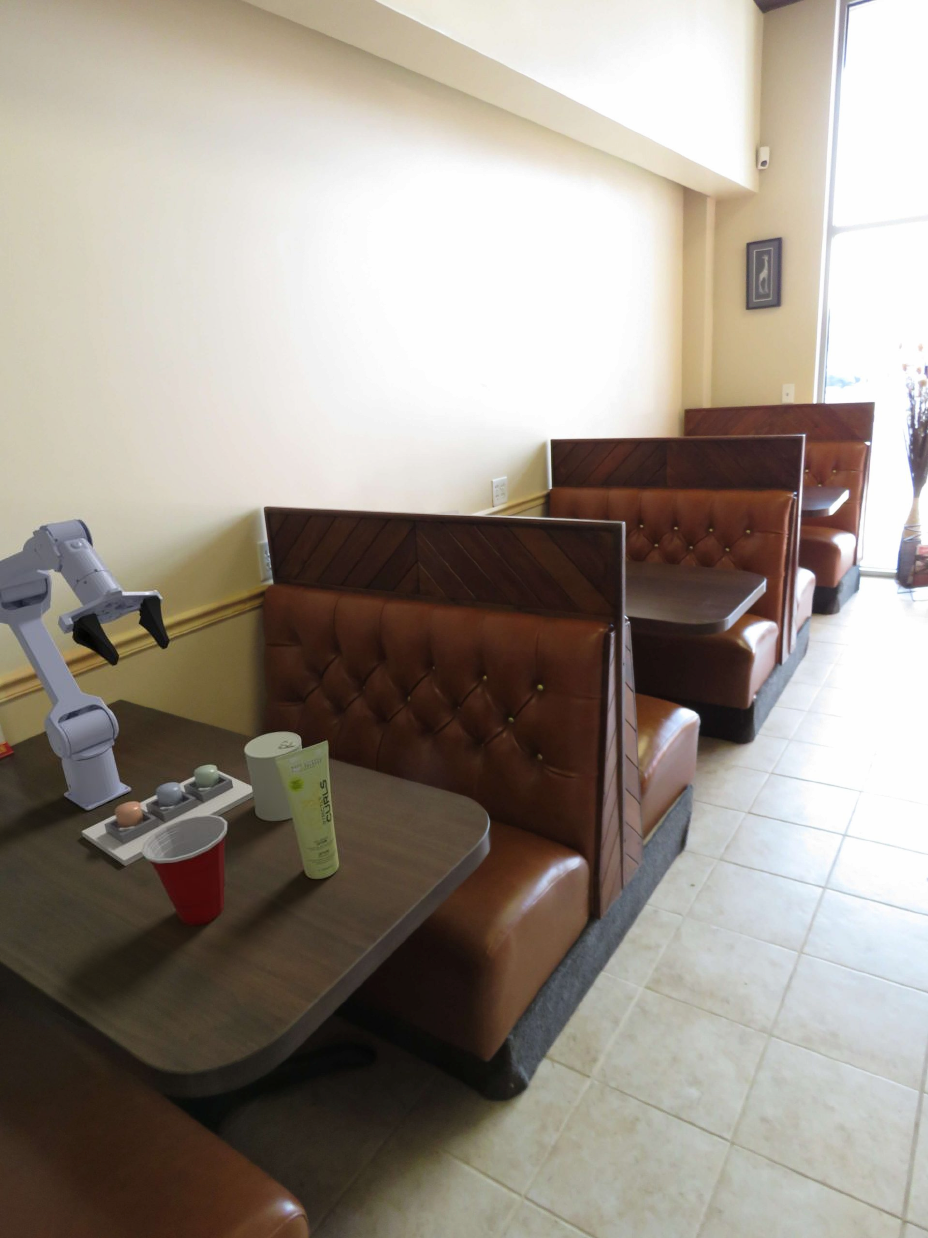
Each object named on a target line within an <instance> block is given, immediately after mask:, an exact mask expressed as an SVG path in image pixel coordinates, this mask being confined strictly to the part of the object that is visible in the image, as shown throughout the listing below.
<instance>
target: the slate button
mask: <svg viewBox="0 0 928 1238" xmlns="http://www.w3.org/2000/svg"><path fill="white" fill-rule="evenodd" d="M155 795H157V799H158V803H159V806H161V807H171V806H174V805H176V804H178V803H180V802H181V801H182V799H183V797H182V792H181V788H180V783H179V782H176V781H175V782H173V781H172V782H171V781H170V782H167V783H163V784H162V785H159V786H158V787H157V788H156V789H155Z"/></svg>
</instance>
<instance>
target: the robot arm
mask: <svg viewBox="0 0 928 1238" xmlns="http://www.w3.org/2000/svg"><path fill="white" fill-rule="evenodd" d="M32 535H33V536H31V537H30V538H28V539H27V540H26V542H24V545H23V547H22V550H21V551H19V552H17V553H15V554H12V555H10V556H8V557H5V558H4V559H1V560H0V624H5V625H8V626H9V628H10V630H11V632H12V633H13V635H14V636H15V638H16V640H17V641H18V643H19V645H20V647H21V649H22V651H23V652H24V654H25V655H26V658H27V659H28V661H29V664H30V665H31V667H32V669H33V670H34V672H35V674H36V676H37V679H38V680H39V682H40V683H41V686H42V687H43V690H44V691H45V693H46V694H47V696H48V698H49V700H50V702H51V704H52V708H51V709H50V710H49V712H48V713H47V715H46V716H45V719H44V723H43V724H44V725H43V728H44V730H45V732H46V735H47V738H48V741H49V744H50V747H51V748H52V750H53V752H54V753H55V755H56V756H57V757H59V758H61V766H62V770H63V772H64V777H65V781H66V784H67V788H68V791H66V792H64V794H63V796H64V797H66V798H67V799H68V800H70V801H71V802H73V803H75V804H76V805H78V806H79V807H80V808H82V809H84V810H86V811H91V810H93V809H96V808H98V807H99V806H102V805H104V804H106V803H107V802H109V801H112V800H114V799H117V798H118V797H120V796H123V795H125V794H127V793H129V792H130V791H131V792H132V788H131V787H130V786H128V785H126V784H125V783H123V782H121V781H120V776H119V772H118V768H117V764H116V760H115V755H114V753H113V752H114V751H113V747H112V746H114V745H115V739H116V738H117V737H118V735H119V730H120V729H119V723H118V720H117V718H116V716H115V714H114V712H113V711H112V710H111V709H110V708H108V707H109V706H107V704H106V703H105V702H104V700H103V699H102V698H101V697H100V696H96V695H91V694H88V693H84V692H82V690H81V688H80V686H79V685H78V684H77V682H76V680H75V678H74V676H73V674H72V672H71V670H70V669H69V667H68V665H67V662H66V661H65V660H64V658H63V656H62V654H61V653H60V650H59V648H58V647H57V644H55V641H54V640H53V638H52V636H51V634H50V632H49V630H48V629H47V626H46V625H45V623H44V620H43V619H42V617H43V616H44V615H45V613H46V612H48V611H49V610H50V609H51V602H52V586H53V581H52V577H51V574H50V573H51V572H50V571H51V570H53V571H54V572H55V573H58V574H61V576H62V578H63V579H64V580H65V581H66V583H67V584H68V585H69V588H70V589H71V590H72V592H73V593H74V595H75V596H76V597H77V599H78V600H79V602H80V603H81V605H82V606H80V607H78V608H76V609H74V610H72V611H69V612H66V613H63V614H60V615H59V617H58V621H57V625H58V627H59V628H60V630H61V631H62V633H63V634H64V635H66V634H70V633H72V641H74V642H75V643H76V644H77V645H79V646H83V647H85V648H87V649H89V650H91V651H92V652H94V653H96V654H97V655H98V656H100V657H101V658H103V659H104V661H107V663H109V665H111V666H112V667H114V666H117V665H118V663H119V659H120V654H119V653H118V651H117V649H116V646H114V644H113V643H112V642H111V640H110V639H109V637H108V636H107V635H106V632H105V630H104V629H103V627H102V625H105V624H109V623H112V622H114V621H116V620H118V619H120V618H123V617H124V616H127V615H129V614H131V613H134V612H139V614H138V616H139V617H140V618H139V621H138V625H140V626H141V627H143V629H145V631H147V632H148V633H149V634H150V635H151V637H152V639H153V640H154V641H155V642H156V644H157V645H158V646H159V647H160V649H161V650H165V649H167V648H168V646H169V644H170V637H169V636H168V633H167V630H166V627H165V624H164V619H163V614H162V606H161V605H162V602H163V597H162V596H161V595H160V593H159V592H158V590H157V589H153V590H150V591H124V589H123V588H122V586H121V585H120V584H119V582H118V581H117V580H116V578H115V577H114V575H113V574H112V572H111V571H110V570H109V568H108V567H107V565H106V564H105V563H104V562H103V560H102V559H101V557H100V556H99V554H98V553H97V551H96V550H95V549H94V541H93V536H92V533H91V532H90V529H89V527H88V525H87V524H86V522H84V521H83V520H82V519H71V520H65V521H59V522H52V523H47V524H44V525H43V524H42V525H41V526H39V528H38V529H36V530H35V529H34V531H32Z"/></svg>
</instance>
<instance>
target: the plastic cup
mask: <svg viewBox="0 0 928 1238" xmlns="http://www.w3.org/2000/svg"><path fill="white" fill-rule="evenodd" d="M227 832H228V821H227V820H225V818H223V817H222V816H220V815H219V816H213V815H203V816H194V817H190V818H186V819H182V820H179V821H177V822H174V823H172V824H170V825H167V826H165V827H163V828H162V829H160V830H159V831H157V832H155V833H154V834H152V835H151V836H150V837H149V838H148V839H147V840H146V842H145V843H144V844H143V847H142V851H141V852H142V854H143V855H144V856H143V857H144V858H145V859H146V860H147V861H148V862H150V864H151V865H152V867H153V869H154V870H155V871H156V873H157V875H158V878H159V879H160V882H161V884H162V886H163V888H164V890H165V892H166V894H167V897H168V898H169V901H170V902H171V903H172V906H173V907H174V909H175V912H176V914H177V916H178V917H179V919H180V920H181V921H182V923H183V924H186V925H188V926H198V925H204V924H207V923H209V922H210V921H213V920H215V919H216V918H217V917H218V916H219V915H220V914H221V913H222V912H223V909H224V907H225V885H226V883H225V882H226V881H225V880H226V877H225V848H226V847H225V846H226V835H227V834H228V833H227Z"/></svg>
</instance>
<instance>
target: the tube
mask: <svg viewBox="0 0 928 1238" xmlns="http://www.w3.org/2000/svg"><path fill="white" fill-rule="evenodd" d="M275 762H276V765H277V767H278V770H279V772H280V775H281V779H282V782H283V785H284V788H285V792H286V795H287V799H288V803H289V806H290V810H291V814H292V818H291V819H292V823H293V826H294V830H295V834H296V838H297V839H296V840H297V842H298V847H299V851H300V856H301V861H302V866H303V869H304V873H305V875H306V876H307V877H308V878H310V879H312V880H322V879H325V878H328V877H330V876H332V875H334V874H335V873H336V872H337V871H338V869H339V866H340V861H339V854H338V847H337V839H336V831H335V824H334V823H335V822H334V814H333V812H334V811H333V804H332V797H331V796H332V793H331V780H330V769H329V768H330V766H329V742H328V740H325V741H322V742H320V743H317V744H314V745H310V746H307V747H304V748H302V749H301V750H298V751H295V752H292V753H289V754H286V755H283V756H280V757H277V758H275Z"/></svg>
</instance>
